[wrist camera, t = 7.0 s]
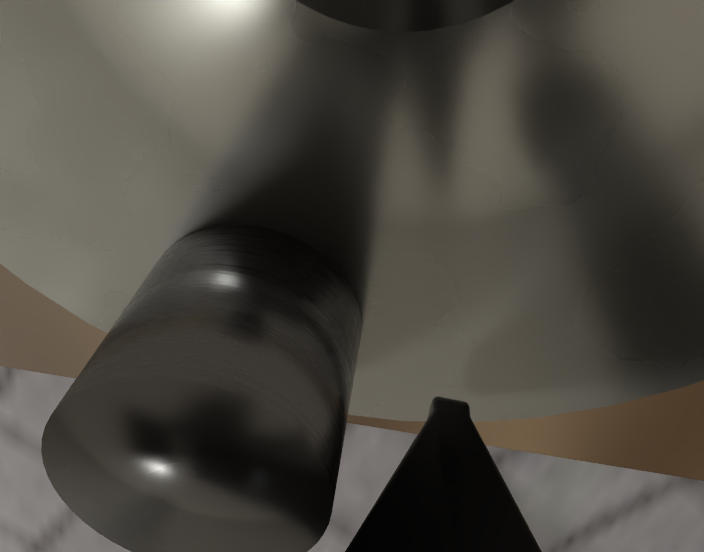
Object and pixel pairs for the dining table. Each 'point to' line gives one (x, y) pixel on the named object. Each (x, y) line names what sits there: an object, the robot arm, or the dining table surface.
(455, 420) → the robot arm
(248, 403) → the flange plate
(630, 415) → the base board
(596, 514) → the dining table surface
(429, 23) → the post
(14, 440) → the dining table surface
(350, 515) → the dining table surface
